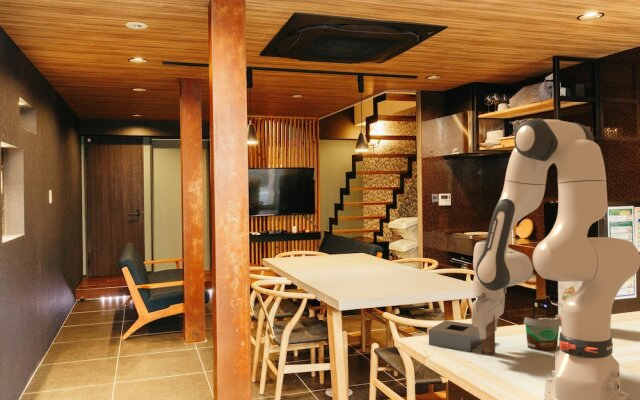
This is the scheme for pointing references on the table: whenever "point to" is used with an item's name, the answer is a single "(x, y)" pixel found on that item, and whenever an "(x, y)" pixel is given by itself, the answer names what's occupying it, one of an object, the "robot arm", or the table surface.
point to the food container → (542, 333)
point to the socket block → (455, 336)
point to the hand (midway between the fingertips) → (488, 334)
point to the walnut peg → (489, 339)
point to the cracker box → (566, 293)
